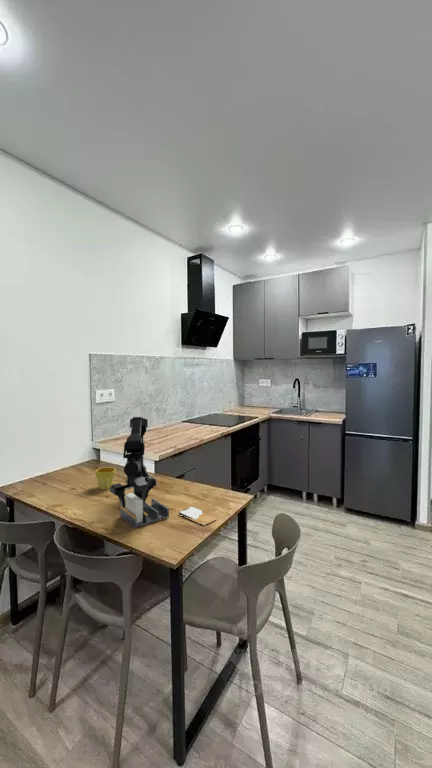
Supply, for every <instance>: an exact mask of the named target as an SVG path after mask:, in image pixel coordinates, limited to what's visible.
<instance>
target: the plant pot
mask: <svg viewBox="0 0 432 768" xmlns="http://www.w3.org/2000/svg"><path fill="white" fill-rule="evenodd" d="M116 472H117V471H116V468H115V467H112V466H110V467H109V466H106V467H100V468H97V469H96V470H95V478H96V480H97V485H98V489H99V490H105V491H106V490H110V487H111V485H114V484H113V483H114V479H115V476H116V474H117V473H116Z"/></svg>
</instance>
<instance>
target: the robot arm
mask: <svg viewBox="0 0 432 768" xmlns="http://www.w3.org/2000/svg"><path fill="white" fill-rule="evenodd" d="M129 428H130V429H131V430H130V435H129V436H127V437H126V441H125V442H124V444H123V445H124V446H123V456H122V457H123V459H126V462H125V465H124V467H123V473H124V474H125V475H126V480H125V483H126V484H121V483H120V482H119V483H114V484H112V485H111V487H110V489H109V492H110V493H111V494H113V495H114V496H117V498H118V500H119V503H120V505H121V507H123V508H125V509H126V493H125V492H126V490H129V489H133V494H135V495H136V496H138V497H139V498H141V499H142V500H143V503H146V501H147V497H148V496H149V492H150V491H151V490H152V489H154V487H156V486H157V483H158V482H157V479H156V478H154V477H152V476H150V475H149V473H148V472H147V467H146V466H145V464H144V455H145V451H146V450H145V448H146V446H145V445H146V444H145V442H144V436H145V434H146V433H147V429H148V428H149V421H148V419H147V418H144V417H143V416H133V417H132V418H130V419H129Z"/></svg>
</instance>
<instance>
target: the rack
mask: <svg viewBox="0 0 432 768" xmlns="http://www.w3.org/2000/svg"><path fill="white" fill-rule="evenodd" d="M150 504H151V505H149V504H148V503H147V502H145V503H143V521H142V522H139V523H137V518H136V517H135V516H134V515H133V514H131V513H130V512H129V511H128V510H126V507H125V508H123V507H122V506H120V514H119V515H120V518H122V520H124V521H125V522H126V523H127V522H128V525H130V527H132V526H133V527H134V528H136V529H138V528H137V527H139V528H141V527H140V526H142V527H144V526H143V525H145V526H147V525H146V524H148V525H150V524H149V523H151V524H153V523H152V522H154V523H156V522H155V521H157V522H159V521H158V520H160V519H163V518H166V519H168V518H167V517H170V508H169V507H167V506H166V505H164V504H163V503H161V502H159V501H158V500H157V499H155V498H151V502H150ZM163 520H164V519H163ZM160 521H161V520H160ZM133 527H132V528H133ZM134 528H133V529H134Z"/></svg>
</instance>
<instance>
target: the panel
mask: <svg viewBox="0 0 432 768" xmlns="http://www.w3.org/2000/svg"><path fill="white" fill-rule="evenodd" d="M125 509H126V510H128V511H129V512H130V513H131V514H133V515H134V516H135V517H136V518H137V523H139V522H142V521H143V499H142V498H139V497H138V496H136V495H135V494H134V492H130V493H125Z"/></svg>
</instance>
